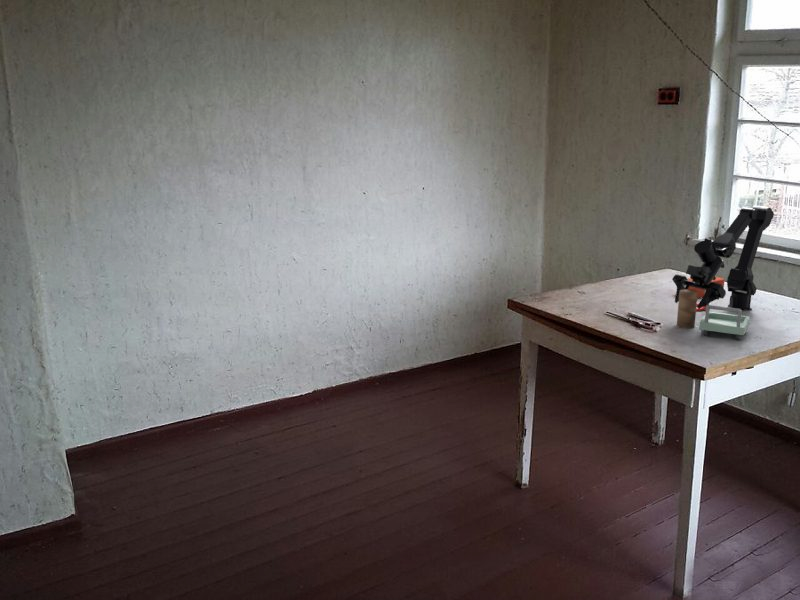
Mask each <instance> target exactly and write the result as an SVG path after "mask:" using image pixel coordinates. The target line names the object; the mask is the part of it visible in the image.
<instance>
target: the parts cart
mask: <svg viewBox="0 0 800 600" xmlns="http://www.w3.org/2000/svg"><path fill="white" fill-rule="evenodd" d="M709 309H710V310H717V311H724V312H723V313H722V312H715V311H710V310H709ZM726 311H727V312H732V314H731V313H725V312H726ZM733 312H734V313H737V314H733ZM742 314H743V310H740V309H737V308H730V307H729V306H720V305H719V306H718V305H710V304H709V305H707V306H706V310H705V314H704V315H703V317H702V318H701V320H700V321H699V326H698V327H699V328H698V329H699V330H702V335H703V336H708V333H709V332H715V333H716V332H717V333H723V334H730V335H731V334H732V335H735V340H737V341H740V340H741V336H745V333H746V331H747V330H748V327H749V325H750V320H751V316H747V315H742Z"/></svg>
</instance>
